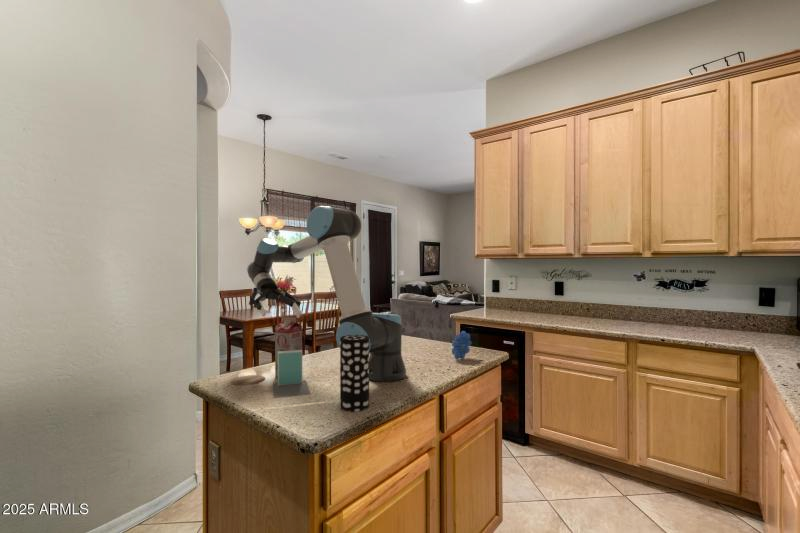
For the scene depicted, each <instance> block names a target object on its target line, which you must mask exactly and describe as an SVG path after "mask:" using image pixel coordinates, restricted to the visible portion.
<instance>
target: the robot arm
mask: <svg viewBox="0 0 800 533" xmlns="http://www.w3.org/2000/svg"><path fill="white" fill-rule="evenodd" d="M361 231H362V220H361V219H360V217H359V215H357V213H356V212H355V211H352V210H350V209H344V208H338V207H331V205H326V206H325V205H318V206H316V207H314V208H313V209H312V210H311V212H309V215H308V218H307V220H306V232H307V234H308V236H306V237H304V238H302V239H299V240H297V241H295V242H293V243H292V244H289V245H288V244H286V245H284V244H282V245H281V244H278V242H277V241H276V240H274V239H272V238H271V239H270V238H266V237H264V238H262V239H260V241H259V243H258V245H257V247H256V253H255V256H254V259H253V261H252V262H250V263H249V264H248V265H247V268H246V271H247V274H248V277H249V278H250V279H251V282H252V284H253V285H254V287H253V289H252V291H251V296H250V299H249V302H248V305H249V306H252V305H253V308H254V309H257V310H258V311H259V313H260V315H261V317H263V318H265V317H266V314H267V311H268V309H267V308H266V306H265V304H264V301H266V300H267V299H268V300H274V301H277V302H281V303H283V304H284V305H287V306H289V307H290V308H291V309H292V311H293V313H294V315H295V317H296V319H299V318H300V317H301V315H302V310H301V304H302V302H301V300H300V299H298V298H296V297H295V296H294V295H292V294H291V293H289V292H288V291H287V290H283V291H280V290H279V289H278V288H279V287H278V285H277V283H276V282H275V280H274V279H273V277H272V275H271V273H270V271H271V269H272V266H273V263H291V264H296V263H300V262H302V261H303V260H304V259H305V258H306V257H308V256H310V255H313V254H316V253H318V252H320V251H322V250H323V251H324V252H323V253H324V255H325V259H326V262H327V266H328V269H329V273H330V277H331V280H332V283H333V284H332V285H333V287H334V292H335V295H336V299H337V302H338V307H339V309H340V313H341V316H340V317H339V319H338V323H339V326H338V327H337V329H336V333H335V339H336V343H337V346H338V348H339V349H340V337H342V336H347V335H365V336H368V337H369V381H370V380H371V381H373V382H384V383H385V382H397V381H400V380H403V379H405V378H406V377H407V368H406V366H405V362H404V358H403V355H402V330H403V329H402V328H403V324H402V317H401V316H400V315H399V314H393V313H385V312H383V313H382V312H373V311H372V310H371V309H369V308H367V307H366V303H365V301H364V300H365V299H364V296H363V293H362V290H361V287H360V283H359V279H358V275H357V272H356V269H355V264H354V262H353V259H352V255H351V251H350V247H349V243H350V242H351V241H353V240H355V239H356V238H357V237H358V236H359V235H360V233H361ZM258 295H259V296H258ZM257 296H258V297H257ZM256 297H257V298H256Z"/></svg>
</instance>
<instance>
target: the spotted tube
mask: <svg viewBox="0 0 800 533" xmlns="http://www.w3.org/2000/svg"><path fill="white" fill-rule="evenodd" d="M339 352H340V354H339V355H340V356H339V359H340V360H339V364H340V366H339V373H340V374H339V376H340V377H339V382H340V383H339V385H340V386H339V387H340V391H339V394H340V395H339V400H340V401H339V407H340V409H341V410H342V411H345V412H353V413H354V412H356V413H357V412H361V411H364V410H365V411H366V410H367V409H368V408H369V407H370V379H369V357H370V353H369V337H368V336H365V335H347V336H342V337H340V348H339Z"/></svg>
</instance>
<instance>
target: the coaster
mask: <svg viewBox="0 0 800 533" xmlns="http://www.w3.org/2000/svg"><path fill="white" fill-rule="evenodd" d="M265 380H266V377H265V376H264V375H259V374H253V375H252V374H250V375H249V374H248V375H243V376H242V375H241V376H239V377H234V378H233V379H231V380H230V381H231V382H230V383H231V384H232V385H234V386H250V385H251V386H252V385H256V384H260V383H262V382H264V381H265Z"/></svg>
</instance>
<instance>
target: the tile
mask: <svg viewBox="0 0 800 533" xmlns="http://www.w3.org/2000/svg"><path fill="white" fill-rule="evenodd" d="M302 381H303V349H302V350H292V351H278V378H277V383H278V386H279V385H289V384H299V383H302Z"/></svg>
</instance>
